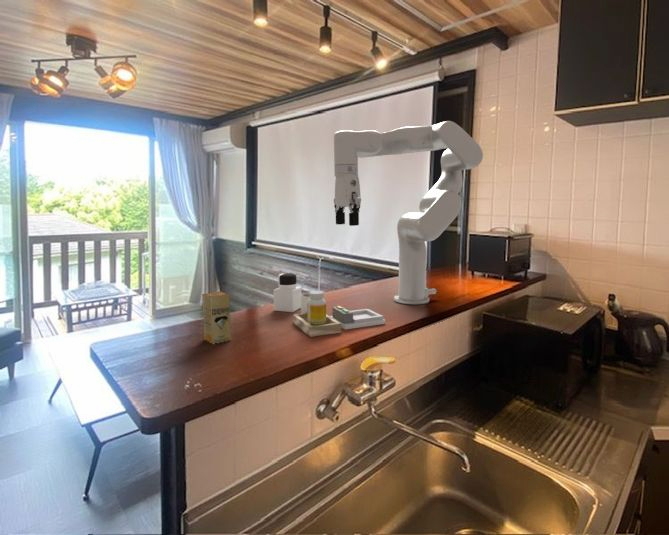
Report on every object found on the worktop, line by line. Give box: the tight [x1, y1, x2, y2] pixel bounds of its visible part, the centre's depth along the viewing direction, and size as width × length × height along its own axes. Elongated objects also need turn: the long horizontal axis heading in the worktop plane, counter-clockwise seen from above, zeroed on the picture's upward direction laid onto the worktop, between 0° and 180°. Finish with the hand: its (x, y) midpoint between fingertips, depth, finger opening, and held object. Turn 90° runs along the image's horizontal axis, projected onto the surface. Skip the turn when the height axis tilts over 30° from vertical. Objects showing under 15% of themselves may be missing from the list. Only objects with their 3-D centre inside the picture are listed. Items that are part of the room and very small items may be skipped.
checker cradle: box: [329, 305, 386, 330], centre depth 118 cm, size 13×10×5 cm
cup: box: [300, 291, 311, 314], centre depth 124 cm, size 7×7×7 cm
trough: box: [292, 313, 342, 338], centre depth 113 cm, size 14×9×2 cm, turn 24°
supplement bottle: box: [307, 290, 327, 326], centre depth 112 cm, size 5×5×10 cm
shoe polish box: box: [201, 291, 232, 345], centre depth 102 cm, size 5×5×12 cm
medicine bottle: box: [272, 272, 302, 313], centre depth 133 cm, size 7×7×12 cm
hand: (347, 224), depth 131 cm, fingers open, 9 cm apart
